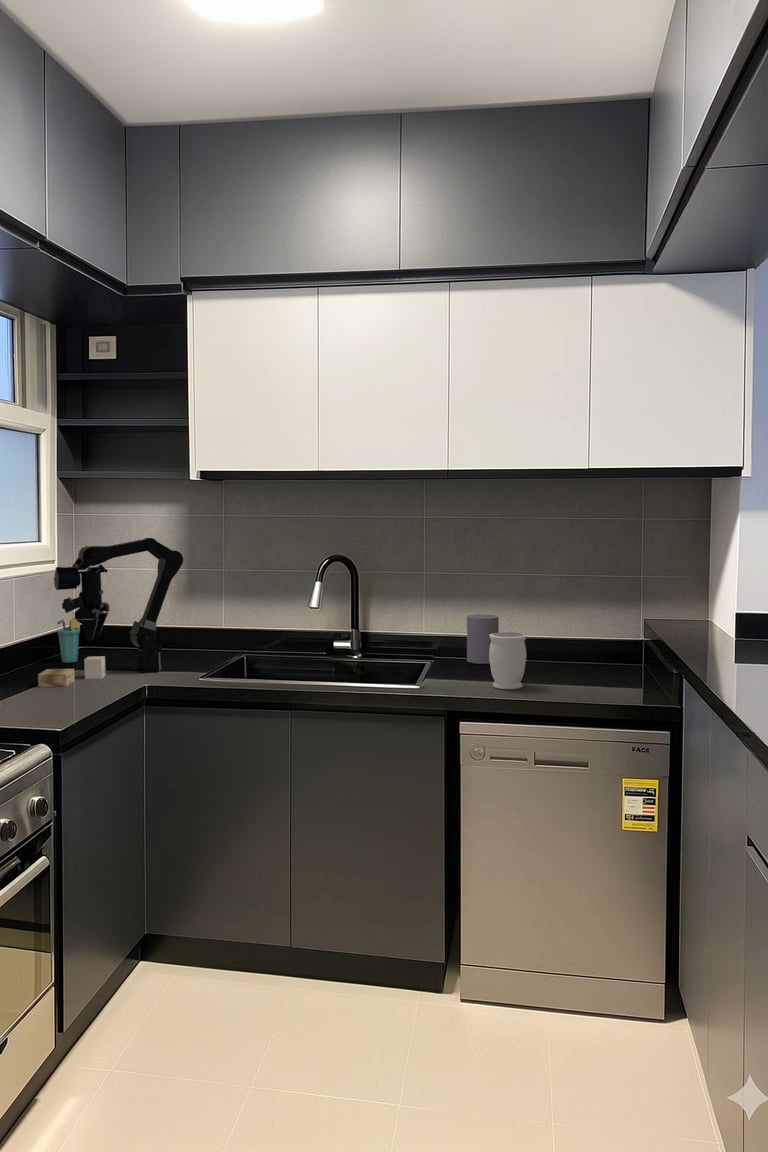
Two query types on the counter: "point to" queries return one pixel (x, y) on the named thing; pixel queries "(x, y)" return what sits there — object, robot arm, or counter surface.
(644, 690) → the counter surface
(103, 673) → the ceramic cube
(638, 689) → the counter surface
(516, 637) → the jar
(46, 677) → the oak block
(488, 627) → the container
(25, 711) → the counter surface
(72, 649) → the cup
